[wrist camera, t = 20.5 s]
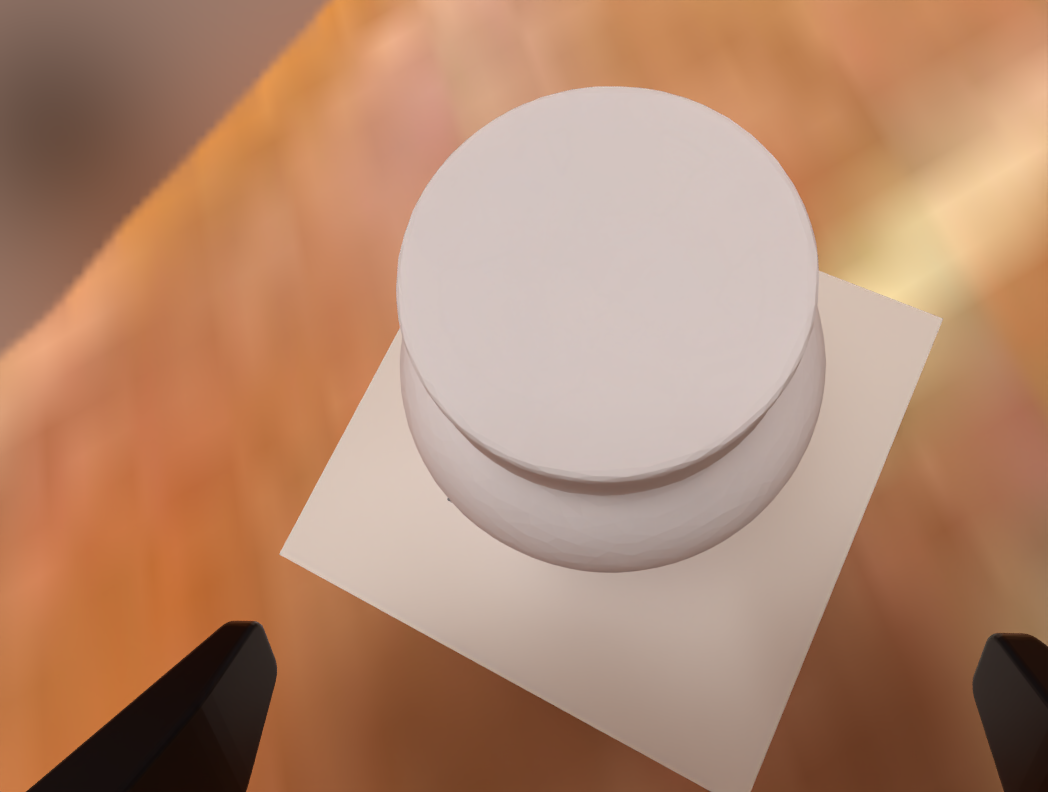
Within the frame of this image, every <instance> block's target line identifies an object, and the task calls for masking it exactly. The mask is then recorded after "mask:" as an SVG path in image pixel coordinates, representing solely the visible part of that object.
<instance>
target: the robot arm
mask: <svg viewBox="0 0 1048 792" xmlns="http://www.w3.org/2000/svg"><path fill="white" fill-rule="evenodd" d="M276 676H277V664H276V660H275V657H274V654H273V652H272V649H271V647H270V644H269V641H268V639H267V636H266V633H265V631H264V628H263V626H262V625H261V624H260V623H259V622H256V621H230V622H228V623H226V624H224V625H223V626H221V627H220V628H219V629H218V630H217V631H215V632H214V633H213V634H212V635H211V636H209V637H208V638H207V639H206V640H205V641H204V642H202V643H201V644H200V645H199V646H198V647H196V648H195V649H194V650H193V651H192V652H191V653H189V654H188V655H187V656H186V657H185V658H183V659H182V660H181V661H180V662H179V663H178V664H176V665H175V666H174V667H173V668H172V669H170V670H169V671H168V672H167V673H166V674H165V675H163V676H162V677H161V678H160V679H159V680H157V681H156V682H155V683H154V684H153V685H152V686H150V687H149V688H148V689H147V690H146V691H144V692H143V693H142V694H141V695H140V696H139V697H137V698H136V699H135V700H134V701H133V702H131V703H130V704H129V705H128V706H127V707H126V708H124V709H123V710H122V711H121V712H120V713H118V714H117V715H116V716H115V717H114V718H113V719H111V720H110V721H109V722H108V723H107V724H105V725H104V726H103V727H102V728H101V729H100V730H98V731H97V732H96V733H95V734H94V735H92V736H91V737H90V738H89V739H88V740H87V741H85V742H84V743H83V744H82V745H81V746H79V747H78V748H77V749H76V750H75V751H74V752H72V753H71V754H70V755H69V756H68V757H66V758H65V759H64V760H63V761H62V762H61V763H59V764H58V765H57V766H56V767H55V768H53V769H52V770H51V771H50V772H49V773H48V774H46V775H45V776H44V777H43V778H42V779H40V780H39V781H38V782H37V783H36V784H35V785H33V786H32V787H31V788H30V789H29V790H27V791H26V792H246V790H247V787H248V784H249V780H250V777H251V773H252V769H253V765H254V761H255V758H256V754H257V750H258V746H259V742H260V739H261V735H262V731H263V727H264V723H265V720H266V716H267V712H268V708H269V705H270V701H271V697H272V693H273V689H274V686H275V682H276ZM973 694H974V698H975V702H976V705H977V708H978V711H979V714H980V718H981V721H982V724H983V727H984V730H985V733H986V736H987V739H988V743H989V746H990V749H991V752H992V755H993V758H994V761H995V765H996V768H997V771H998V774H999V777H1000V780H1001V783H1002V786H1003V790H1004V792H1048V646H1046V645H1045V644H1044V643H1042V642H1041V641H1040V640H1038V639H1037V638H1035V637H1033V636H1031V635H1028V634H1022V633H996V634H993V635H991V636H990V637H989V638H988V640H987V641H986V644H985V647H984V649H983V652H982V655H981V658H980V660H979V663H978V666H977V668H976V671H975V674H974V677H973Z"/></svg>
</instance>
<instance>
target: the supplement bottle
mask: <svg viewBox="0 0 1048 792" xmlns="http://www.w3.org/2000/svg"><path fill="white" fill-rule="evenodd" d="M818 289H819V269H818V254H817V247H816V241H815V236H814V232H813V229H812V226H811V223H810V220H809V217H808V214H807V211H806V208H805V206H804V204H803V202H802V200H801V198H800V196H799V194H798V192H797V190H796V188H795V186H794V184H793V183H792V181H791V180H790V178H789V177H788V175H787V174H786V172H785V171H784V169H783V168H782V167H781V165H780V164H779V162H778V161H777V160H776V159H775V158H774V156H773V155H772V154H771V153H770V152H769V151H768V150H767V149H766V148H765V147H764V146H763V145H762V144H761V143H760V142H759V141H758V140H757V139H755V138H754V137H753V136H752V135H751V134H750V133H748V132H747V131H746V130H744V129H743V128H742V127H740V126H739V125H738V124H736V123H735V122H733V121H732V120H731V119H729V118H727V117H726V116H724V115H722V114H720V113H718V112H716V111H714V110H713V109H711V108H709V107H707V106H705V105H702V104H700V103H698V102H695V101H693V100H690V99H688V98H684V97H681V96H677V95H674V94H670V93H666V92H663V91H657V90H651V89H645V88H635V87H588V88H580V89H572V90H568V91H564V92H560V93H556V94H552V95H548V96H544V97H541V98H538V99H536V100H534V101H531V102H528V103H525V104H523V105H521V106H518V107H516V108H514V109H512V110H510V111H508V112H506V113H505V114H503V115H501V116H499V117H498V118H496V119H494V120H493V121H491V122H490V123H488V124H487V125H486V126H484V127H483V128H481V129H480V130H479V131H477V132H476V133H475V134H473V135H472V136H471V137H470V138H468V139H467V140H466V141H465V142H464V143H463V144H462V145H461V146H459V147H458V148H457V149H456V150H455V151H454V152H453V153H452V154H451V155H450V156H449V157H448V159H447V160H446V161H445V162H444V163H443V165H442V166H441V167H440V168H439V170H438V171H437V172H436V174H435V175H434V176H433V178H432V179H431V180H430V182H429V183H428V184H427V186H426V188H425V189H424V191H423V193H422V195H421V196H420V198H419V200H418V202H417V204H416V206H415V208H414V210H413V212H412V215H411V218H410V221H409V223H408V226H407V229H406V232H405V234H404V238H403V243H402V246H401V250H400V254H399V258H398V270H397V284H396V295H397V309H398V319H399V324H400V329H401V333H402V343H401V351H400V380H401V393H402V399H403V405H404V409H405V413H406V418H407V422H408V426H409V429H410V432H411V434H412V437H413V440H414V442H415V445H416V447H417V449H418V452H419V454H420V456H421V458H422V460H423V462H424V464H425V465H426V467H427V469H428V471H429V472H430V474H431V476H432V477H433V479H434V481H435V482H436V484H437V485H438V486H439V487H440V489H441V490H442V491H443V492H444V494H445V495H446V496H447V497H448V498H449V499H450V501H451V502H452V503H453V504H454V505H455V506H456V507H457V508H458V509H459V510H460V511H461V512H462V514H463V515H465V516H466V517H467V518H468V519H469V520H470V521H471V522H473V523H474V524H475V525H476V526H478V527H479V528H480V529H482V530H483V531H485V532H486V533H487V534H489V535H490V536H492V537H493V538H495V539H496V540H498V541H499V542H501V543H503V544H505V545H507V546H509V547H511V548H513V549H515V550H516V551H519V552H521V553H523V554H525V555H528V556H530V557H532V558H535V559H538V560H541V561H544V562H547V563H550V564H553V565H557V566H561V567H565V568H569V569H575V570H580V571H588V572H599V573H620V572H632V571H640V570H647V569H652V568H658V567H662V566H666V565H669V564H673V563H677V562H679V561H682V560H685V559H688V558H690V557H693V556H695V555H697V554H700V553H702V552H704V551H706V550H708V549H710V548H712V547H714V546H716V545H718V544H720V543H722V542H723V541H725V540H726V539H728V538H730V537H731V536H732V535H734V534H735V533H737V532H738V531H740V530H741V529H742V528H744V527H745V526H746V525H747V524H749V523H750V522H751V521H752V520H754V519H755V518H756V517H757V516H758V515H759V514H760V513H761V512H762V511H763V510H764V509H765V508H766V507H767V506H768V505H769V504H770V503H771V502H772V501H773V499H774V498H775V497H776V496H777V495H778V493H779V492H780V491H781V490H782V488H783V487H784V486H785V484H786V483H787V482H788V481H789V479H790V478H791V476H792V475H793V473H794V471H795V470H796V468H797V466H798V464H799V462H800V461H801V459H802V457H803V455H804V453H805V451H806V449H807V447H808V445H809V443H810V440H811V438H812V435H813V432H814V429H815V426H816V423H817V420H818V417H819V413H820V408H821V404H822V399H823V393H824V386H825V372H826V354H825V344H824V335H823V330H822V324H821V319H820V315H819V310H818V306H817V304H818Z"/></svg>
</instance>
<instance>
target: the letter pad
mask: <svg viewBox="0 0 1048 792" xmlns="http://www.w3.org/2000/svg"><path fill="white" fill-rule="evenodd" d="M817 306H818V310H819V315H820V319H821V324H822V330H823V335H824V344H825V354H826V372H825V386H824V393H823V399H822V404H821V408H820V413H819V417H818V420H817V423H816V426H815V429H814V432H813V435H812V438H811V440H810V443H809V445H808V447H807V449H806V451H805V453H804V455H803V457H802V459H801V461H800V462H799V464H798V466H797V468H796V470H795V471H794V473H793V475H792V476H791V478H790V479H789V481H788V482H787V483H786V484H785V486H784V487H783V488H782V490H781V491H780V492H779V493H778V495H777V496H776V497H775V498H774V499H773V501H772V502H771V503H770V504H769V505H768V506H767V507H766V508H765V509H764V510H763V511H762V512H761V513H760V514H759V515H758V516H757V517H756V518H755V519H754V520H752V521H751V522H750V523H749V524H747V525H746V526H745V527H744V528H742V529H741V530H740V531H738V532H737V533H735V534H734V535H732V536H731V537H730V538H728V539H726V540H725V541H723V542H722V543H720V544H718V545H716V546H714V547H712V548H710V549H708V550H706V551H704V552H702V553H700V554H697V555H695V556H693V557H690V558H688V559H685V560H682V561H679V562H677V563H673V564H669V565H666V566H662V567H658V568H652V569H647V570H640V571H632V572H620V573H599V572H588V571H580V570H575V569H569V568H565V567H561V566H557V565H553V564H550V563H547V562H544V561H541V560H538V559H535V558H532V557H530V556H528V555H525V554H523V553H521V552H519V551H516V550H515V549H513V548H511V547H509V546H507V545H505V544H503V543H501V542H499V541H498V540H496V539H495V538H493V537H492V536H490V535H489V534H487V533H486V532H485V531H483V530H482V529H480V528H479V527H478V526H476V525H475V524H474V523H473V522H471V521H470V520H469V519H468V518H467V517H466V516H465V515H463V514H462V512H461V511H460V510H459V509H458V508H457V507H456V506H455V505H454V504H453V503H452V502H451V501H450V499H449V498H448V497H447V496H446V495H445V494H444V492H443V491H442V490H441V489H440V487H439V486H438V485H437V484H436V482H435V481H434V479H433V477H432V476H431V474H430V472H429V471H428V469H427V467H426V465H425V464H424V462H423V460H422V458H421V456H420V454H419V452H418V449H417V447H416V445H415V442H414V440H413V437H412V434H411V432H410V429H409V426H408V422H407V418H406V413H405V409H404V405H403V399H402V393H401V380H400V351H401V343H402V333H401V329H399V331H398V332H397V334H396V336H395V338H394V340H393V342H392V344H391V346H390V347H389V349H388V351H387V353H386V355H385V357H384V359H383V361H382V362H381V364H380V366H379V368H378V370H377V372H376V374H375V376H374V377H373V379H372V381H371V383H370V385H369V387H368V389H367V391H366V392H365V394H364V396H363V398H362V400H361V402H360V404H359V406H358V407H357V409H356V411H355V413H354V415H353V417H352V419H351V421H350V422H349V424H348V426H347V428H346V430H345V432H344V434H343V436H342V437H341V439H340V441H339V443H338V445H337V447H336V449H335V451H334V452H333V454H332V456H331V458H330V460H329V462H328V464H327V466H326V467H325V469H324V471H323V473H322V475H321V477H320V479H319V481H318V482H317V484H316V486H315V488H314V490H313V492H312V494H311V496H310V497H309V499H308V501H307V503H306V505H305V507H304V509H303V511H302V512H301V514H300V516H299V518H298V520H297V522H296V524H295V526H294V527H293V529H292V531H291V533H290V535H289V537H288V539H287V541H286V542H285V544H284V546H283V548H282V550H281V552H280V555H281V556H283V557H285V558H287V559H289V560H291V561H292V562H294V563H296V564H298V565H300V566H301V567H303V568H305V569H307V570H309V571H311V572H312V573H314V574H316V575H318V576H320V577H321V578H323V579H325V580H327V581H329V582H331V583H332V584H334V585H336V586H338V587H340V588H341V589H343V590H345V591H347V592H349V593H351V594H352V595H354V596H356V597H358V598H360V599H361V600H363V601H365V602H367V603H369V604H371V605H372V606H374V607H376V608H378V609H380V610H381V611H383V612H385V613H387V614H389V615H391V616H392V617H394V618H396V619H398V620H400V621H401V622H403V623H405V624H407V625H409V626H411V627H412V628H414V629H416V630H418V631H420V632H421V633H423V634H425V635H427V636H429V637H431V638H432V639H434V640H436V641H438V642H440V643H441V644H443V645H445V646H447V647H449V648H451V649H452V650H454V651H456V652H458V653H460V654H461V655H463V656H465V657H467V658H469V659H471V660H472V661H474V662H476V663H478V664H480V665H481V666H483V667H485V668H487V669H489V670H491V671H492V672H494V673H496V674H498V675H500V676H501V677H503V678H505V679H507V680H509V681H511V682H512V683H514V684H516V685H518V686H520V687H521V688H523V689H525V690H527V691H529V692H531V693H532V694H534V695H536V696H538V697H540V698H541V699H543V700H545V701H547V702H549V703H551V704H552V705H554V706H556V707H558V708H560V709H561V710H563V711H565V712H567V713H569V714H571V715H572V716H574V717H576V718H578V719H580V720H581V721H583V722H585V723H587V724H589V725H591V726H592V727H594V728H596V729H598V730H600V731H601V732H603V733H605V734H607V735H609V736H611V737H612V738H614V739H616V740H618V741H620V742H622V743H623V744H625V745H627V746H629V747H631V748H632V749H634V750H636V751H638V752H640V753H642V754H643V755H645V756H647V757H649V758H651V759H652V760H654V761H656V762H658V763H660V764H662V765H663V766H665V767H667V768H669V769H671V770H672V771H674V772H676V773H678V774H680V775H682V776H683V777H685V778H687V779H689V780H691V781H692V782H694V783H696V784H698V785H700V786H702V787H703V788H705V789H707V790H709V791H711V792H751V790H752V787H753V785H754V782H755V780H756V777H757V775H758V772H759V770H760V767H761V765H762V763H763V760H764V758H765V755H766V753H767V750H768V748H769V745H770V743H771V740H772V738H773V736H774V733H775V731H776V728H777V726H778V723H779V721H780V718H781V716H782V713H783V711H784V708H785V706H786V704H787V701H788V699H789V696H790V694H791V691H792V689H793V686H794V684H795V681H796V679H797V677H798V674H799V672H800V669H801V667H802V664H803V662H804V659H805V657H806V654H807V652H808V650H809V647H810V645H811V642H812V640H813V637H814V635H815V632H816V630H817V627H818V625H819V622H820V620H821V618H822V615H823V613H824V610H825V608H826V605H827V603H828V600H829V598H830V595H831V593H832V591H833V588H834V586H835V583H836V581H837V578H838V576H839V573H840V571H841V568H842V566H843V564H844V561H845V559H846V556H847V554H848V551H849V549H850V546H851V544H852V541H853V539H854V537H855V534H856V532H857V529H858V527H859V524H860V522H861V519H862V517H863V514H864V512H865V509H866V507H867V505H868V502H869V500H870V497H871V495H872V492H873V490H874V487H875V485H876V482H877V480H878V478H879V475H880V473H881V470H882V468H883V465H884V463H885V460H886V458H887V455H888V453H889V451H890V448H891V446H892V443H893V441H894V438H895V436H896V433H897V431H898V428H899V426H900V423H901V421H902V419H903V416H904V414H905V411H906V409H907V406H908V404H909V401H910V399H911V396H912V394H913V392H914V389H915V387H916V384H917V382H918V379H919V377H920V374H921V372H922V369H923V367H924V365H925V362H926V360H927V357H928V355H929V352H930V350H931V347H932V345H933V342H934V340H935V338H936V335H937V333H938V330H939V328H940V325H941V323H942V320H943V318H940V317H938V316H935V315H932V314H930V313H927V312H925V311H922V310H919V309H917V308H914V307H912V306H909V305H906V304H904V303H901V302H899V301H896V300H893V299H891V298H888V297H886V296H883V295H880V294H878V293H875V292H873V291H870V290H867V289H865V288H862V287H860V286H857V285H854V284H852V283H849V282H847V281H844V280H841V279H839V278H836V277H834V276H831V275H828V274H826V273H823V272H821V271H819V289H818V304H817Z"/></svg>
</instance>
